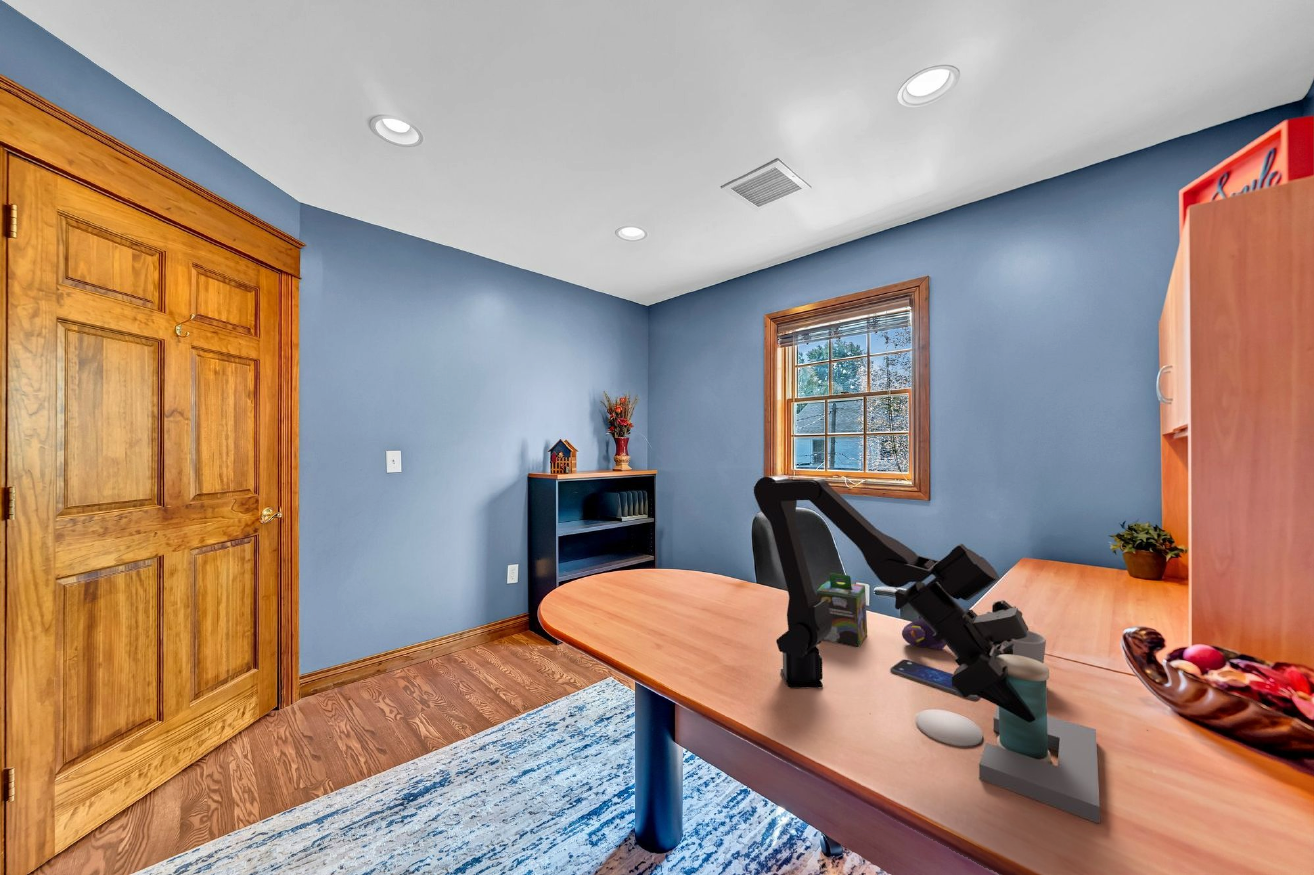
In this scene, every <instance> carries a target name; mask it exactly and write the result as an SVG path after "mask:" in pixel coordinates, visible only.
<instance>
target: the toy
mask: <svg viewBox="0 0 1314 875" xmlns="http://www.w3.org/2000/svg"><path fill="white" fill-rule="evenodd" d="M903 627H904V628H903V629H902V630H901V637H902V638H903V640H904V641H905V642H907V643H908V644H909V645H912V646H916V647H919V648H929V649H933V650H937V651H942V650H943V649H944V648H945V647H947V645H946V644H945V643H944V642H943V641H942V640H941V641H939V642H937V641H936V640H935V639H934V638H933V635H934V634H935V632H934V631H933V630H932V629H931V628H930V627H929V626H928V625H927V623H926V622H925V621H924V620H923V619H922V618H921V617H920V618H918V619H915V620H913V621H911V622H910V623H909V624H908V623H907V624H906V625H905V626H903Z"/></svg>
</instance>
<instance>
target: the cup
mask: <svg viewBox="0 0 1314 875" xmlns="http://www.w3.org/2000/svg"><path fill="white" fill-rule="evenodd" d="M1001 644H1002V645H1003V646H1004V647H1005V648H1006V647H1008V646H1009V645H1011V644H1014V645H1015V648H1014V655H1019V656H1024V657H1028V658H1031V659H1034V660H1037V661H1039V662H1041V663H1043V664H1045V656H1046V655H1045V653H1046V644H1047V639H1046V638H1045V637H1044V636H1043V635H1041V634H1040V633H1037V632H1034V631H1032V630H1028V631H1027V636H1026V637H1025V638H1022V639H1017V640H1015V639H1012V641H1010V642H1008V641H1006V640H1005V641H1004V642H1002V643H1001ZM1001 644H1000V645H1001Z"/></svg>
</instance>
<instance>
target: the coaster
mask: <svg viewBox="0 0 1314 875" xmlns="http://www.w3.org/2000/svg"><path fill="white" fill-rule="evenodd" d="M915 724H916V726H917V728H918V729H919V730H921V732H923V733H924V734H925V735H926V736H928V737H930V738H931V739H933V740H936V741H938V742H941V743H944V744H947V745H951V746H956V747H973V746H977V745H979V744H980V743H981V742H982V741H983V731H982V729H981V728H980V726H979V725H978V724H976V723H975V721H973V720H970V719H969V718H967V717H965V716H963V715H960V714H958V713H955V712H952V711H948V710H944V709H943V710H942V709H933V708H932V709H925V710H922V711H919V712H918V713H917V714H916V715H915Z"/></svg>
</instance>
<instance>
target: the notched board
mask: <svg viewBox="0 0 1314 875" xmlns="http://www.w3.org/2000/svg"><path fill="white" fill-rule="evenodd" d="M993 714H994V715H993V721H992V722H993V732H997V733H999V706H997V705H996V708H995V712H994V713H993ZM1096 729H1097V728H1093V727H1089V726H1085V725H1082V724H1079V723H1074V722H1072V721H1069V720H1066V719H1065V720H1064V719H1062V718H1061V719H1060V718H1057V717H1055V716H1051V715H1047V734H1048V749H1051V750H1054V751H1056V752H1058V758H1057V765H1056V764H1055V765H1054V764H1052V763H1051V764H1049V763H1046V762H1043V761H1040V760H1037V759H1034V758H1031V757H1028V756H1025V755H1022V754H1019V753H1016V752H1013V751H1010V750H1007V749H1004V748H1001V747H998V746H997V745H994V744H992V743H990V742H985V744H984V747H983V750H982V753H981V757H980V760H979V762H978V763H979V764H978V769H979V771H978V773H979V774H978V775H979V780H982V781H984V782H987V783H990V784H993V785H996V786H998V787H1001V788H1003V789H1007V790H1008V791H1012V792H1014V793H1016V794H1020V795H1021V796H1025V797H1028V798H1030V799H1032V800H1035V801H1038V802H1039V803H1040V802H1041V803H1043V804H1046V805H1048V806H1052V807H1055V808H1056V809H1059V810H1062V811H1065V812H1067V813H1070V814H1073V815H1076V816H1077V817H1081V818H1083V819H1086V820H1089V821H1090V822H1091V821H1092V822H1093V823H1097V824H1101V823H1100V822H1101V821H1100V820H1101V819H1100V818H1101V817H1100V790H1099V772H1098V771H1099V770H1098V769H1099V768H1098V766H1099V765H1098V753H1097V752H1098V749H1097V745H1098V744H1097V730H1096Z"/></svg>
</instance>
